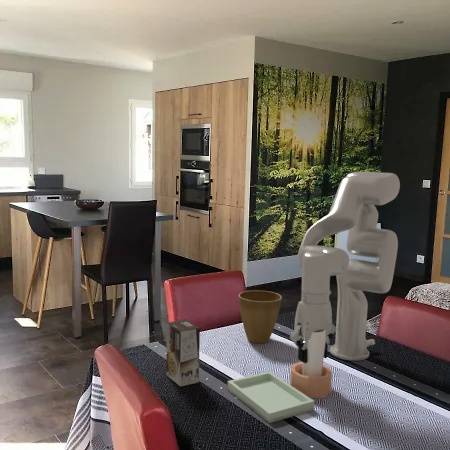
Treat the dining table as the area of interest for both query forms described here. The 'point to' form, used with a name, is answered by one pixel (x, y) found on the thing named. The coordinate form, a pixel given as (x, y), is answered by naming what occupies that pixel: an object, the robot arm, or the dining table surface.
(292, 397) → the tray
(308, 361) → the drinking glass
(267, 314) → the plant pot
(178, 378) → the coffee box
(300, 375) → the holder cup
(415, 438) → the dining table surface
